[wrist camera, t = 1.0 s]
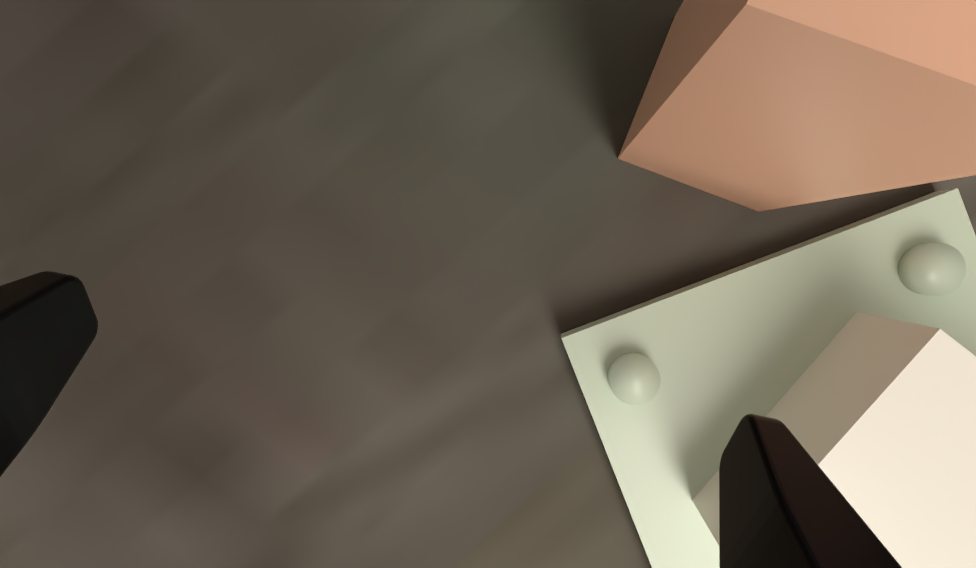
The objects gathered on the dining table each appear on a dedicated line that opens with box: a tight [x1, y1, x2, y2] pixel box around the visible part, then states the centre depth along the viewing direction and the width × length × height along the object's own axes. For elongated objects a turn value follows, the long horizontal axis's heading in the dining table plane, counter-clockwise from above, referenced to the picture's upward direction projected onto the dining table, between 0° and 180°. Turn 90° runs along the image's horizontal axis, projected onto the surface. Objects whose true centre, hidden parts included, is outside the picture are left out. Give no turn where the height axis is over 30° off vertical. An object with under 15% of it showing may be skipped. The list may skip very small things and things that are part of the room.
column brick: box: [618, 0, 976, 212], centre depth 14 cm, size 5×5×13 cm
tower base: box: [561, 188, 976, 568], centre depth 18 cm, size 16×13×5 cm
